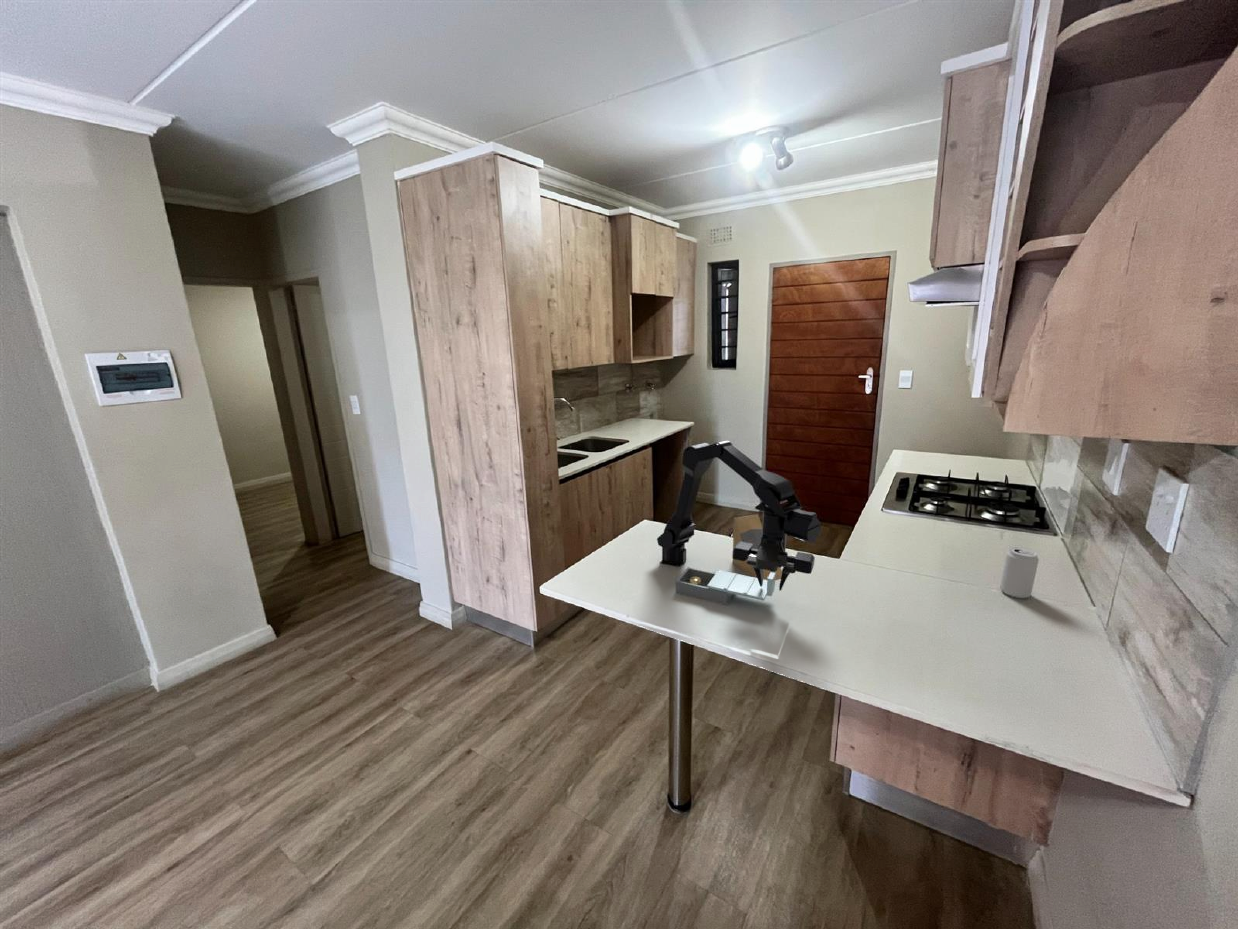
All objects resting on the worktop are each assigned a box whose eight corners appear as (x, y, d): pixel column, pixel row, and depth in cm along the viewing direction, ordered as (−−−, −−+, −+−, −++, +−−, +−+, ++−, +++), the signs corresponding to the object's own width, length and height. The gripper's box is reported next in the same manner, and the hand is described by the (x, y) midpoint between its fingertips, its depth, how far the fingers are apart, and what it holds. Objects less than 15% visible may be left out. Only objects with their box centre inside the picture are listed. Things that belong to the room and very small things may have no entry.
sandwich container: (761, 587, 133) (764, 536, 129) (731, 563, 147) (733, 517, 143) (787, 581, 136) (791, 531, 132) (755, 559, 150) (757, 513, 146)
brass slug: (687, 590, 131) (688, 580, 130) (691, 585, 133) (692, 575, 132) (698, 593, 129) (698, 582, 128) (702, 588, 132) (702, 578, 131)
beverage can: (1001, 584, 130) (1009, 544, 127) (1032, 593, 126) (1041, 551, 123) (997, 593, 126) (1005, 551, 123) (1028, 602, 121) (1038, 559, 118)
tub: (675, 594, 130) (675, 581, 129) (687, 580, 137) (688, 567, 136) (726, 607, 123) (727, 593, 122) (736, 591, 131) (737, 577, 130)
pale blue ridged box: (707, 587, 124) (707, 571, 123) (718, 572, 132) (718, 556, 131) (768, 602, 117) (769, 584, 116) (776, 584, 125) (777, 568, 124)
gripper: (726, 535, 115) (725, 594, 119) (810, 549, 106) (805, 613, 110) (739, 519, 124) (737, 574, 128) (817, 532, 115) (812, 590, 119)
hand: (770, 587), depth 121 cm, fingers open, 4 cm apart
